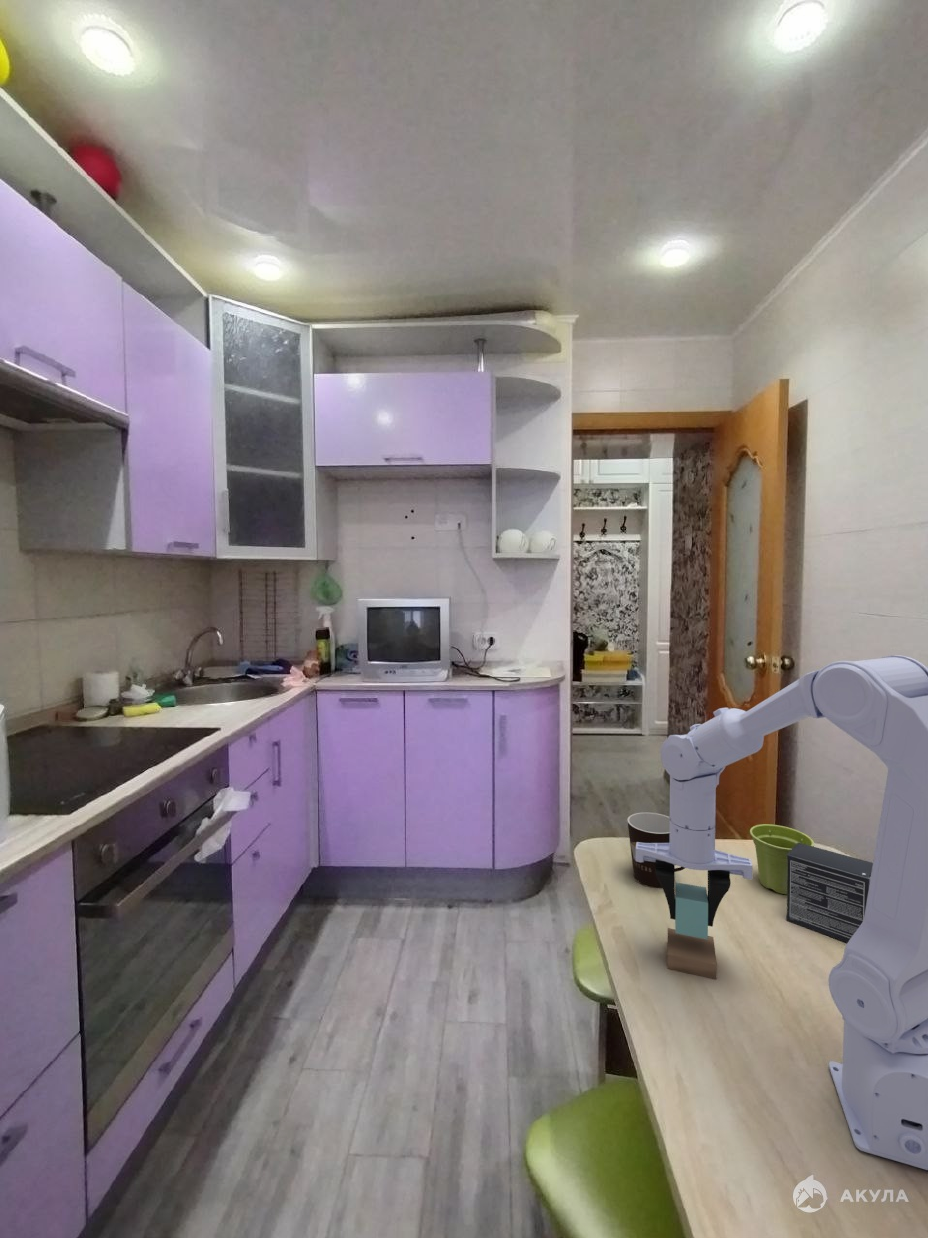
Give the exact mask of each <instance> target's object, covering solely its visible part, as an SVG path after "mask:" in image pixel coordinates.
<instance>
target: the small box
mask: <svg viewBox="0 0 928 1238" xmlns="http://www.w3.org/2000/svg"><path fill="white" fill-rule="evenodd" d="M787 861H788V864H787V866H788V871H787V874H788V876H787V894H786V915H785V916H786V917H785V920H786V921H788V922H789V923H792V924H795V925H798V926H801V927H802V928H806V929H809V930H812V931H814V932H817V933H820V934H821V935H822V934H823V935H825V936H828V937H830V938H832V939H835V940H839V941H841V942H843V943H846V944H847V943H848V942H849V940H850V939H851V937H852V936H853V935H854V933H855V932H856V931H857V929H858V928H859V927H860V925H861V924H862V922H863V920H864V915H865V909H866V903H867V897H868V891H869V885H870V879H871V872H872V866H873V861H868V860H864V859H860V858H857V857H853V856H849V855H846V854H842V853H837V852H835V851H832V850H831V851H830V850H827V849H823V848H821V847H817V846H814V847H813V846H809V845H806V844H802V843H797V844H796V845H795V846H794V847H793V848H792V849H791V851H790V852H789V853H788V854H787Z"/></svg>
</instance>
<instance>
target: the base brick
mask: <svg viewBox="0 0 928 1238" xmlns="http://www.w3.org/2000/svg"><path fill="white" fill-rule="evenodd" d="M717 968H718V964H717V954H716V946H715V940H714V936H713V935H711V936H710V935H708V939H703V938H698V937H692V936H687V935H682V934H677V933H675V928H669V927H667V969H668V970H672V971H676V972H681V973H687V974H689V975H691V974H692V975H695V976H700V977H704V978H709V979H714V980H717V977H718V976H717V975H718V974H717V973H718V969H717Z"/></svg>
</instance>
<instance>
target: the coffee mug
mask: <svg viewBox="0 0 928 1238" xmlns="http://www.w3.org/2000/svg"><path fill="white" fill-rule="evenodd" d="M627 829H628V836H629V846H630V853H631V863H632V872H633V877H634V879H635V881H636V882H638V883H639V884H641V885H643V886H646V887H649V888H653V889H663V888H662V886H661V884H660V882H659V880H658V878H657V876H656V872H655V866H656V862H651V861H645V860H644V862H637V861H636V842H640V843H670V816H669V815H668V816H667V815H665V814H661V813H656V812H645V811H644V812H635V813H632V814H631V815H629V816H628V817H627ZM685 869H686V868H684V867H681V866H678V867H676V868H675V873H678V872H680V871H684V870H685Z"/></svg>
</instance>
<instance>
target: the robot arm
mask: <svg viewBox="0 0 928 1238" xmlns="http://www.w3.org/2000/svg"><path fill="white" fill-rule="evenodd" d="M712 713H713V715H714V717H713V718H711V719H709V720H707V721H705V722H704V723H702V724H701V723H695V724H693V725H690V726H689V732H688V733H687V734H686V733H685V734H670V735H668V737H667V738H666V739H665V740H664V741H663V743H662V745H661V747H660V760H661V762H662V763H661V764H662V766H663V768H664V770H665V772H666V773H667V774H668V775H669V817H670V843H640V842H636V861H637V862H644V860H645V861H651V862H656V866H655V872H656V876H657V878H658V880H659V882H660V884H661V886H662V888H661V889H662V890H663V893H664V896H665V899H666V902H667V905H668V909H669V910H668V911H669V917H670V919H671V920H674V921H675V916H676V909H675V881H676V880H675V878H676V874H675V873H676V872H675V866H678V867H684V868H685V869H689V870H693V871H694V870H695V871H707V898H708V927H713V926H714V921H715V917H716V913H717V911H718V908H719V906H720V903H721V902H722V900H723V899H724V897H725V895H727V892H729V890H730V887H731V875H733V876H734V875H736V876H742V878H743V879H747V880H753V868H754V867H753V866H754V865H753V863H752V859H751V858H748V857H743V856H738V855H734V854H730V853H727V852H724V851H720V850H717V849H716V805H717V804H716V799H717V796H716V795H717V794H716V792H717V791H716V790H717V789H716V788H717V787H718V785H720V775H721V773H723V771H724V770H725V768H726V766H729V765H731V764H734V763H736V762H738V761H741V760H742V759H745V758H747V757H749V756H751V755H753V754H756V753H757V752H759V751H760V750H761V749H762V748H763V745H764V739H765V738H764V737H765V736H767V735H769V734H772V733H774V732H777V731H779V730H781V729H783V728H786V727H788V726H791V725H793V724H796V723H798V722H800V721H802V720H805V719H808V718H813V719H821V718H825V719H827V720H828V721H829V722H830V723H832V724H833V725H834V726H836V727H838V728H839V729H840V730H841V731H843V732H845V733H846V734H847V735H849V736H850V737H851V738H852V739H855V740H856V741H857V742H858V743H859V744H861V745H863V746H864V747H866V748H867V749H868V750H869V751H871V752H873V754H875V755H876V756H877V757H878V758H879V759H880V760H881V762H883V763H884V764H885V765H886V767H887V770H888V771H887V776H886V782H885V788H884V794H883V799H882V800H883V801H882V806H881V812H880V817H879V823H878V824H879V825H878V830H877V836H876V843H875V848H874V854H873V861H872V863H873V866H872V872H871V879H870V885H869V891H868V897H867V903H866V909H865V915H864V920H863V922H862V924H861V925H860V927H859V928H858V929H857V931H856V932H855V933H854V935H853V936H852V937H851V939H850V940H849V942H848V943H846V944H845V946H844V952H843V956H842V959H841V960H840V961H839V963H838V964H836V965H834V966H833V967H832V969H831V970H830V972H829V973H828V974H829V975H828V989H829V993H830V995H831V999H832V1000H833V1003H834V1004H835V1006H836V1008H837V1010H838V1012H839V1013H840V1015H841V1017H842V1018H841V1019H842V1020H843V1027H842V1028H843V1031H842V1032H843V1033H842V1034H843V1035H842V1063H839V1062H836V1061H829V1062H828V1069H829V1072H830V1074H831V1078H832V1080H833V1084H834V1087H835V1089H836V1093H837V1095H838V1099H839V1103H840V1104H841V1107H842V1110H843V1113H844V1117H845V1119H846V1122H847V1125H848V1128H849V1132H850V1135H851V1136H852V1137H851V1138H852V1140H853V1144H854V1146H855V1147H856V1148H857V1149H858V1150H859V1151H861V1152H865V1153H868V1154H871V1155H875V1156H878V1157H882V1158H885V1159H889V1160H892V1161H896V1162H899V1163H902V1164H905V1165H907V1166H908V1165H909V1166H912V1167H915V1168H919V1169H923V1170H926V1171H928V667H927V666H926V665H924V664H923V663H922V662H920V660H917V659H915V658H913V657H910V656H906V655H900V654H898V655H897V654H896V655H895V654H893V655H887V656H882V657H880V658H872V659H870V658H869V659H859V660H854V661H853V660H852V661H851V660H839V661H833V662H830V663H829V664H826V665H825V666H824V667H821V669H818V670H817V669H816V670H814V671H810V672H808V673H807V672H806V673H805V674H804V675H802V676H801V677H800V678H798V679H796V680H794V681H793V682H791V684H789V685H786V687H784V688H782V689H781V690H779V691H777V692H776V693H773V694H772V695H771V696H769V697H768V698H766V699H764V700H763V701H761V702H759V703H758V704H756V705H755V706H754V707H752V708H750V709H748V710H747V711H746V710H743V709H741V708H735V707H733V708H729V707H721V708H718V709H716V710H715V711H713V712H712Z"/></svg>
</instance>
